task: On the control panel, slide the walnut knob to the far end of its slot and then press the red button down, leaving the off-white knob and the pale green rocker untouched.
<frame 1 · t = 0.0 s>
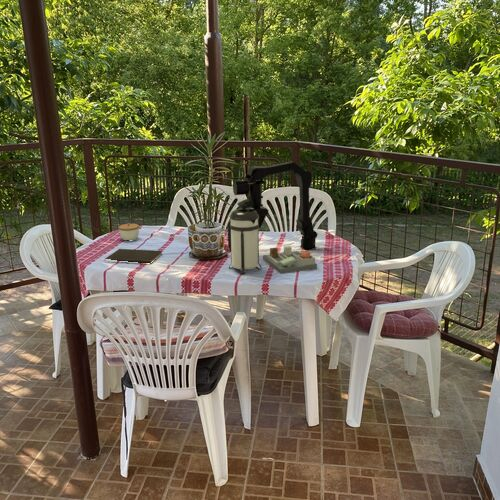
hand: (255, 225, 249), 15 cm above the table, tool pointing down, fingers open, 9 cm apart
hardcover book: (134, 259, 251), on the table
offwhite knob: (287, 250, 245), point 4 cm above the table, slide at 0.0 cm
coffee press: (242, 268, 235), on the table
red button: (305, 255, 233), point 5 cm above the table, slide at 0.0 cm
panel: (289, 263, 240), on the table
green rocker: (287, 260, 230), point 4 cm above the table, hinge at 15.0°
lidded jar: (130, 240, 282), on the table
walnut knob: (273, 252, 243), point 4 cm above the table, slide at 0.0 cm
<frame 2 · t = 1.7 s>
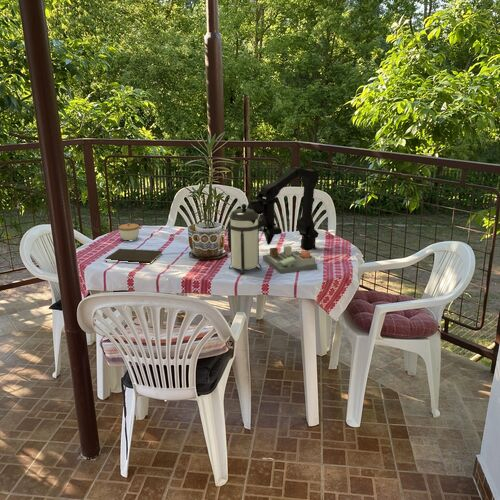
hand: (268, 244, 248), 6 cm above the table, tool pointing down, fingers closed
nothing on the table moved.
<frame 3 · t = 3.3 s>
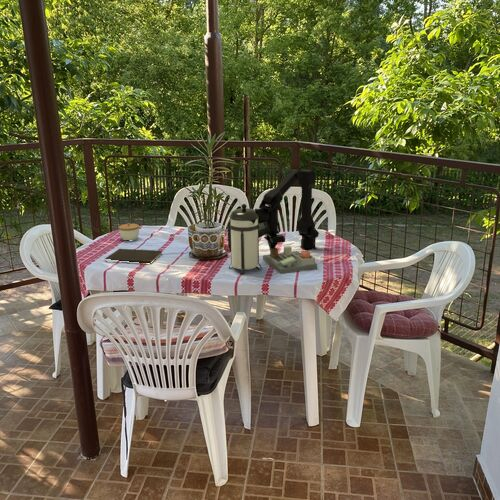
hand: (271, 252, 245), 4 cm above the table, tool pointing down, fingers closed
walnut knob: (274, 252, 242), point 4 cm above the table, slide at 0.3 cm, touching gripper
everything else where it was.
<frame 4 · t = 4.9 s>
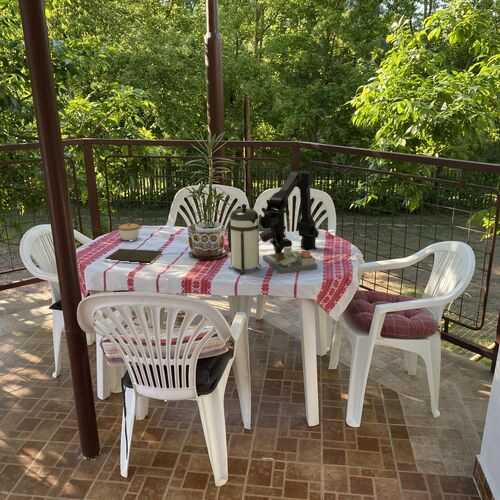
hand: (277, 256, 238), 4 cm above the table, tool pointing down, fingers closed
walnut knob: (280, 257, 236), point 4 cm above the table, slide at 7.7 cm, touching gripper
everything else where it was.
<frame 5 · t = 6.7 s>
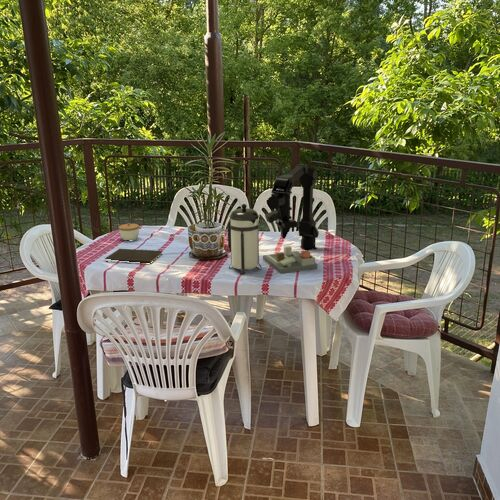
hand: (283, 238, 237), 12 cm above the table, tool pointing down, fingers closed
walnut knob: (280, 257, 236), point 4 cm above the table, slide at 7.8 cm
everything else where it was.
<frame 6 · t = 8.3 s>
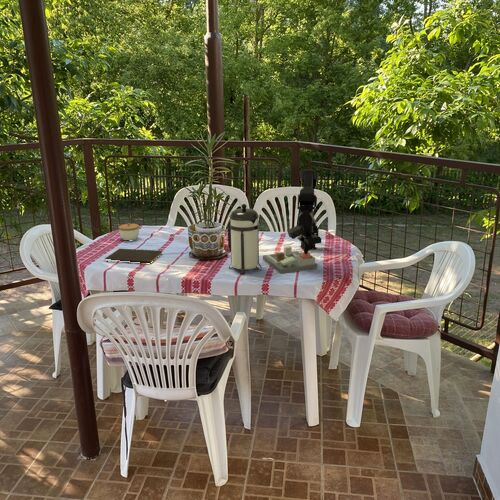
hand: (305, 253, 233), 6 cm above the table, tool pointing down, fingers closed, pressing on red button
red button: (305, 257, 234), point 5 cm above the table, slide at 0.9 cm, touching gripper
everything else where it was.
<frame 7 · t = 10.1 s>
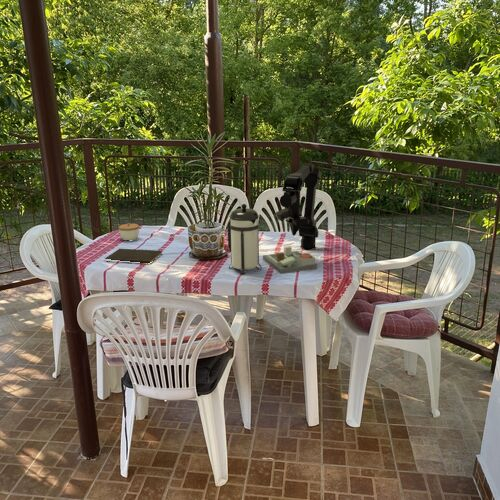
hand: (293, 235, 241), 12 cm above the table, tool pointing down, fingers closed
red button: (305, 258, 234), point 4 cm above the table, slide at 1.3 cm
everything else where it was.
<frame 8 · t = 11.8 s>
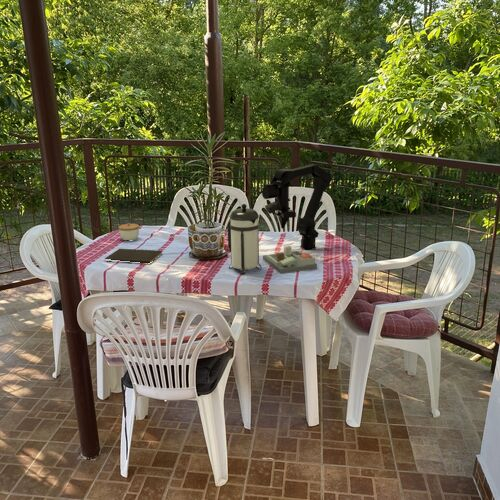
hand: (282, 228, 250), 13 cm above the table, tool pointing down, fingers closed
nothing on the table moved.
at the end: walnut knob slide at 7.8 cm; red button slide at 1.3 cm; offwhite knob slide at 0.0 cm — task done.
